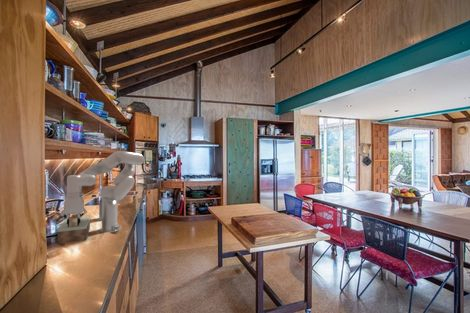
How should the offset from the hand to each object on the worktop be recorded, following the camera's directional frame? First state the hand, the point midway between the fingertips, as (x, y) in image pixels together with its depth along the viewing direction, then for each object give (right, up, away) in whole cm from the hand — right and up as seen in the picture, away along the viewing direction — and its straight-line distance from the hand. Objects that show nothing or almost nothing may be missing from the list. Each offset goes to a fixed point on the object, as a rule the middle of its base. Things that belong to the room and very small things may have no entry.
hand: (73, 224), depth 143 cm
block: (0, -9, 0) cm, 9 cm away
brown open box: (-4, -10, +7) cm, 13 cm away
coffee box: (-9, -10, +49) cm, 51 cm away
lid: (-4, -2, +7) cm, 8 cm away
